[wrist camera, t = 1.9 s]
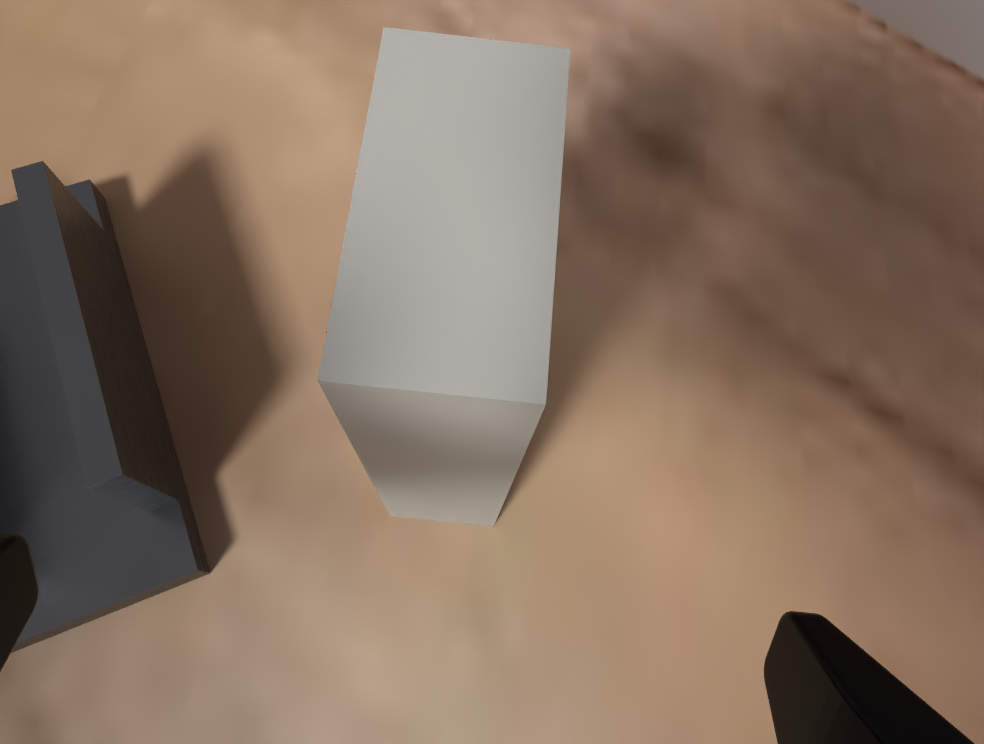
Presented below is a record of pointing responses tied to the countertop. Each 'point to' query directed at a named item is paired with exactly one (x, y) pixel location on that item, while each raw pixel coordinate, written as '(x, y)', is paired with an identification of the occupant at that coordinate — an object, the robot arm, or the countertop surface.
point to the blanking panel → (449, 271)
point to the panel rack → (82, 416)
